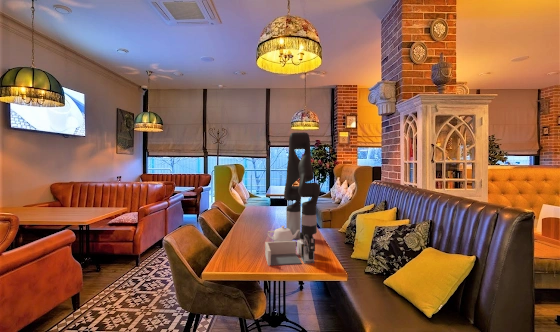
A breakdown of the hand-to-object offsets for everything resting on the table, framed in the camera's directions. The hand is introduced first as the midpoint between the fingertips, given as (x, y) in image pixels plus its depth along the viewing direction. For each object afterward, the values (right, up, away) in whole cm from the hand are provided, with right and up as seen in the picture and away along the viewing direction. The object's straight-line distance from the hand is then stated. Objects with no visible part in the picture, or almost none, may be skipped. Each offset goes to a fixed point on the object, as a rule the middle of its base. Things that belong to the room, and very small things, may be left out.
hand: (308, 256), depth 144 cm
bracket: (0, -3, +3) cm, 5 cm away
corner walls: (-12, -3, +4) cm, 13 cm away
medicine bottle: (-1, -3, +12) cm, 13 cm away
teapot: (-12, -3, +35) cm, 37 cm away
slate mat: (-12, -3, +4) cm, 13 cm away
